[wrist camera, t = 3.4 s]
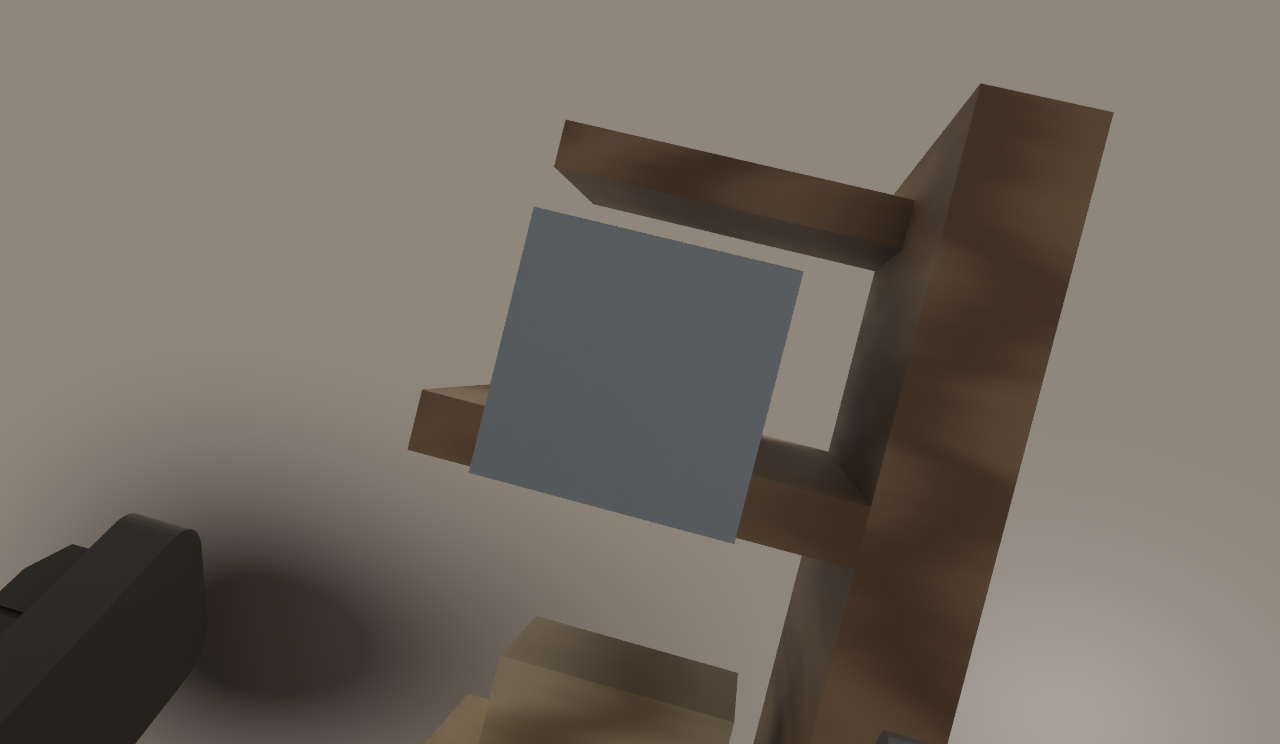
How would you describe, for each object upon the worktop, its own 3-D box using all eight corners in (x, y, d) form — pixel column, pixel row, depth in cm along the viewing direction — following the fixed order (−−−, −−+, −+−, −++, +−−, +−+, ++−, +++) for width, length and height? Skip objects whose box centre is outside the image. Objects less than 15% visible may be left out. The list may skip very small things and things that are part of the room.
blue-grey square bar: (468, 472, 16) (533, 206, 16) (646, 406, 41) (672, 302, 41) (734, 543, 16) (803, 271, 15) (750, 433, 40) (777, 328, 40)
